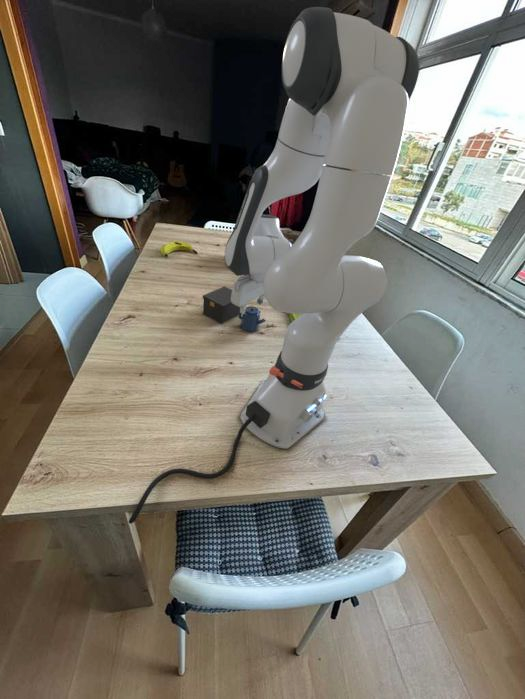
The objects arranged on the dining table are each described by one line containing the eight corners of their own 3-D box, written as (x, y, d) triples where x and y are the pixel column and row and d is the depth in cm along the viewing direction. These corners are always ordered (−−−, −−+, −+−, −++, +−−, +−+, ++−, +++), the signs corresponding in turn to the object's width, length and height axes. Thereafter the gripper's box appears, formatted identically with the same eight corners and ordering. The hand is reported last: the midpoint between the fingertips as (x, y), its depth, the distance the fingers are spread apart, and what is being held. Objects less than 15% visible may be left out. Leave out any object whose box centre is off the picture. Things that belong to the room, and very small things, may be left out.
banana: (155, 246, 138) (184, 259, 137) (174, 235, 151) (200, 246, 150) (155, 255, 141) (183, 267, 141) (174, 243, 154) (199, 254, 153)
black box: (221, 324, 101) (222, 306, 97) (201, 314, 105) (201, 295, 101) (242, 313, 110) (244, 295, 105) (223, 303, 113) (224, 286, 109)
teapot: (233, 324, 103) (235, 305, 98) (243, 318, 107) (245, 299, 102) (257, 337, 98) (261, 318, 94) (267, 330, 103) (271, 311, 98)
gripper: (245, 282, 82) (239, 323, 90) (282, 265, 96) (275, 302, 104) (227, 274, 84) (224, 315, 93) (267, 258, 98) (261, 295, 107)
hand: (251, 308), depth 99 cm, fingers open, 8 cm apart
